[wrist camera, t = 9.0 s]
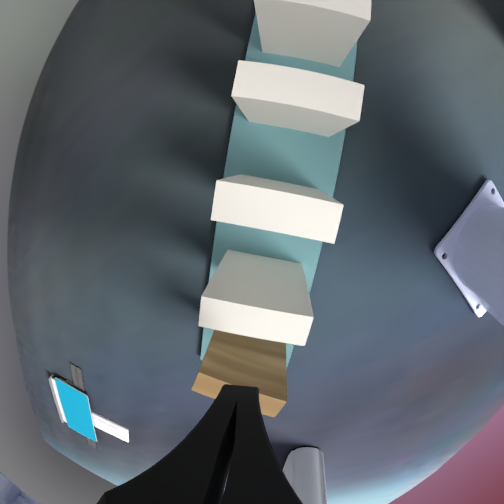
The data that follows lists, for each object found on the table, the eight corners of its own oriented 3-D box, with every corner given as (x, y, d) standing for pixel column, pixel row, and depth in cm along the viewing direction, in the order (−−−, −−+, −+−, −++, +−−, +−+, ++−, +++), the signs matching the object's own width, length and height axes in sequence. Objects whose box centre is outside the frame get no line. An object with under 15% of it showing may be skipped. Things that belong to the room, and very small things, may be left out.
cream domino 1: (266, 33, 14) (259, -26, 8) (341, 47, 14) (371, -4, 7) (262, 52, 15) (253, -3, 8) (339, 67, 15) (370, 20, 8)
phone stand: (131, 461, 32) (128, 468, 30) (68, 429, 32) (63, 435, 30) (129, 387, 26) (123, 397, 24) (45, 343, 25) (37, 350, 24)
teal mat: (259, 0, 14) (259, -3, 13) (358, 19, 14) (359, 17, 13) (201, 356, 22) (200, 359, 22) (284, 372, 22) (284, 375, 22)
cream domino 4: (227, 249, 19) (201, 296, 12) (302, 263, 19) (313, 317, 12) (224, 271, 19) (198, 325, 13) (296, 285, 19) (304, 345, 13)
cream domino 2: (253, 98, 16) (238, 60, 9) (332, 113, 16) (364, 85, 9) (249, 121, 16) (231, 96, 10) (328, 137, 16) (359, 121, 10)
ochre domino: (222, 309, 20) (198, 372, 14) (285, 333, 20) (286, 401, 14) (215, 325, 21) (191, 389, 14) (276, 348, 21) (274, 417, 14)
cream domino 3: (239, 174, 17) (216, 180, 11) (318, 189, 17) (343, 204, 11) (235, 198, 18) (210, 219, 11) (313, 213, 18) (334, 243, 11)
